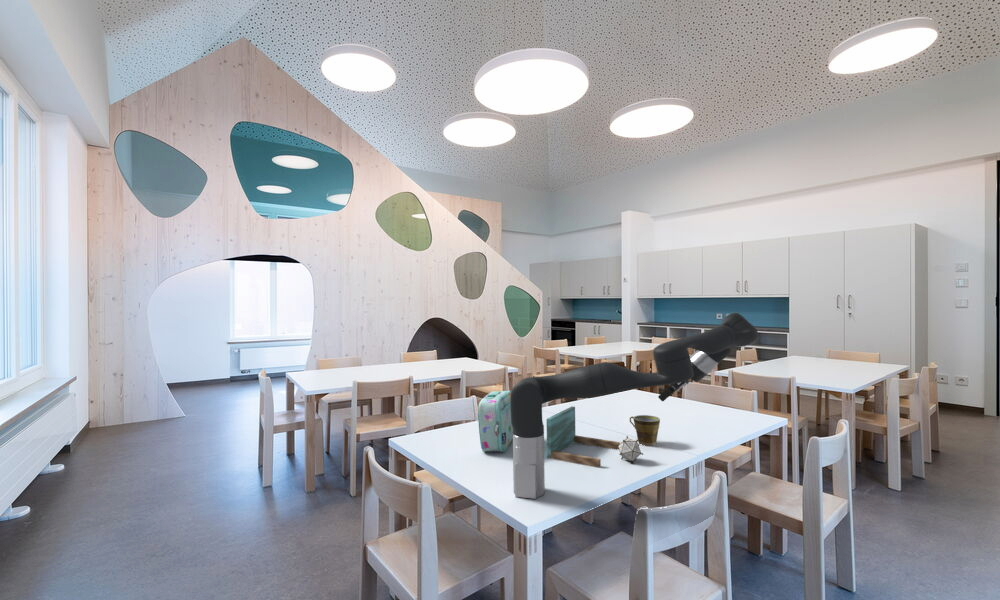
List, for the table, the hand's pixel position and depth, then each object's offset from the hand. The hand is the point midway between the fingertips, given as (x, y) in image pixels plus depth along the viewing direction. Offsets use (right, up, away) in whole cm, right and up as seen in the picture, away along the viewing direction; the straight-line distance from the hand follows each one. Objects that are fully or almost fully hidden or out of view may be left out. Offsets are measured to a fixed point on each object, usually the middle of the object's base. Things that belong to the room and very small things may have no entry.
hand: (663, 397), depth 153 cm
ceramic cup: (+2, -24, +27) cm, 36 cm away
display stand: (-23, -24, +14) cm, 36 cm away
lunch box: (-56, -25, +25) cm, 66 cm away
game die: (-10, -24, +6) cm, 27 cm away
